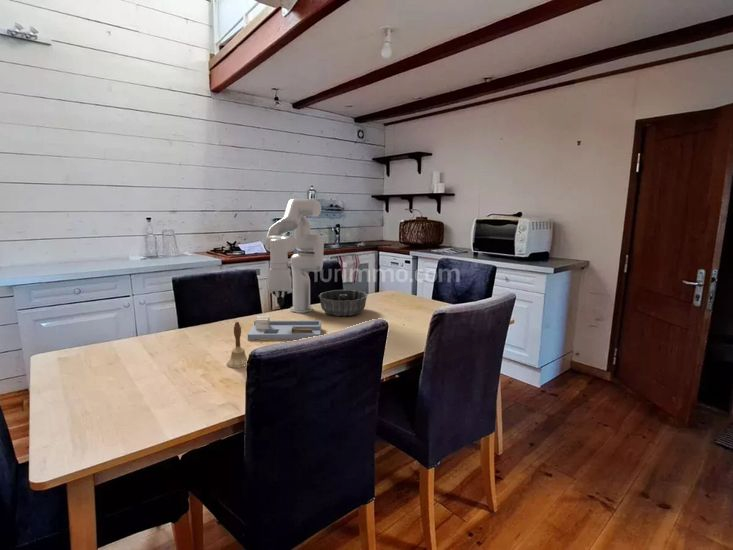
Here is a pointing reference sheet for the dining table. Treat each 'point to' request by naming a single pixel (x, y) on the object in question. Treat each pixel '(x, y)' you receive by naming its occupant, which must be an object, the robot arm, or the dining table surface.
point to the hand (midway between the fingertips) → (280, 305)
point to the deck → (285, 330)
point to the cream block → (262, 322)
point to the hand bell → (237, 350)
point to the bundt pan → (343, 302)
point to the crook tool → (301, 330)
